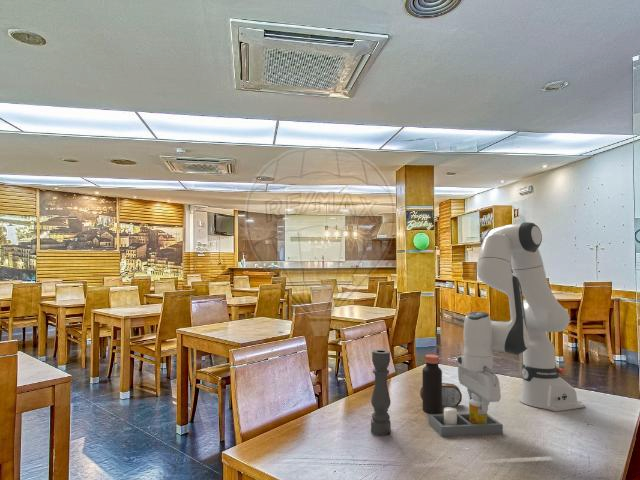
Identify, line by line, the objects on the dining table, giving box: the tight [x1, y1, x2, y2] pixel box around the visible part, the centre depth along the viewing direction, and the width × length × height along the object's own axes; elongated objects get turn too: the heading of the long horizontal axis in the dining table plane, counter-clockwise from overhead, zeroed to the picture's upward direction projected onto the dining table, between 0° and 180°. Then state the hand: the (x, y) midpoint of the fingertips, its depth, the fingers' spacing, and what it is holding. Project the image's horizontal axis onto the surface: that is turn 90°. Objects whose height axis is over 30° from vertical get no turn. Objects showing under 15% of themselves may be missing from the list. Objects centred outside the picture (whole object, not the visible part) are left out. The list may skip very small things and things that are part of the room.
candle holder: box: [370, 349, 392, 437], centre depth 128 cm, size 6×6×25 cm
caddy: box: [427, 412, 504, 437], centre depth 129 cm, size 20×10×4 cm, turn 98°
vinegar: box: [421, 354, 443, 415], centre depth 145 cm, size 7×7×20 cm
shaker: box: [443, 406, 458, 426], centre depth 129 cm, size 4×4×6 cm
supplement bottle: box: [468, 392, 488, 424], centre depth 130 cm, size 5×5×10 cm
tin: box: [419, 382, 463, 407], centre depth 152 cm, size 15×3×8 cm, turn 84°
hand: (478, 406), depth 130 cm, fingers closed on supplement bottle, 5 cm apart
